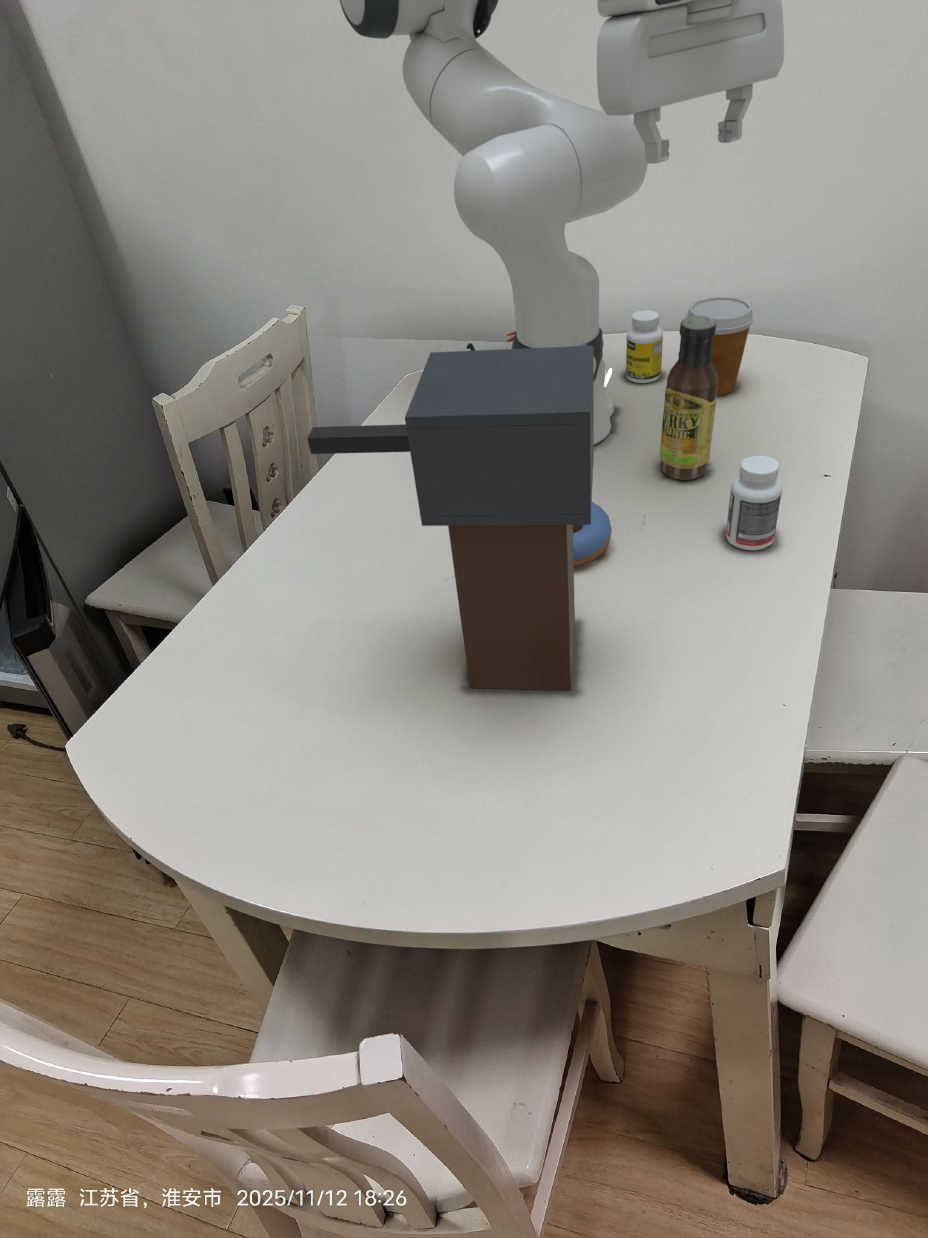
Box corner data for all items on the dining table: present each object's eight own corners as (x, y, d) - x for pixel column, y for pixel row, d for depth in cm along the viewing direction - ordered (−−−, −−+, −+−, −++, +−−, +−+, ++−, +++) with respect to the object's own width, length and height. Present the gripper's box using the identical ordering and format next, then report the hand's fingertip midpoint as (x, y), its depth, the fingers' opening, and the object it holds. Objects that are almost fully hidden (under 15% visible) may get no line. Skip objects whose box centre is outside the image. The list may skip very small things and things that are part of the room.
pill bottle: (784, 539, 98) (796, 464, 92) (751, 557, 96) (761, 482, 90) (747, 520, 102) (757, 446, 96) (715, 537, 100) (723, 463, 94)
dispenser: (448, 694, 84) (404, 416, 65) (464, 616, 93) (430, 352, 74) (591, 698, 82) (590, 411, 63) (594, 617, 91) (593, 345, 72)
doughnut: (553, 583, 96) (551, 550, 93) (512, 540, 103) (509, 508, 100) (628, 554, 99) (629, 521, 96) (582, 515, 106) (582, 483, 103)
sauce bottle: (649, 472, 112) (656, 323, 99) (678, 453, 115) (688, 306, 102) (690, 488, 108) (703, 335, 95) (719, 468, 111) (735, 317, 98)
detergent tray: (305, 506, 73) (285, 431, 69) (334, 448, 81) (318, 377, 76) (573, 503, 69) (571, 424, 65) (577, 442, 77) (576, 367, 72)
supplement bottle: (618, 379, 134) (619, 317, 128) (638, 366, 137) (640, 305, 131) (648, 387, 131) (650, 324, 125) (667, 373, 134) (671, 311, 128)
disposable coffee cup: (668, 383, 131) (672, 305, 124) (720, 367, 134) (727, 290, 126) (705, 406, 124) (712, 326, 117) (759, 390, 127) (770, 309, 119)
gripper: (751, -36, 81) (746, 129, 89) (581, -4, 74) (592, 173, 82) (806, -46, 76) (795, 129, 84) (629, -13, 69) (636, 175, 77)
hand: (694, 151), depth 83 cm, fingers open, 8 cm apart
